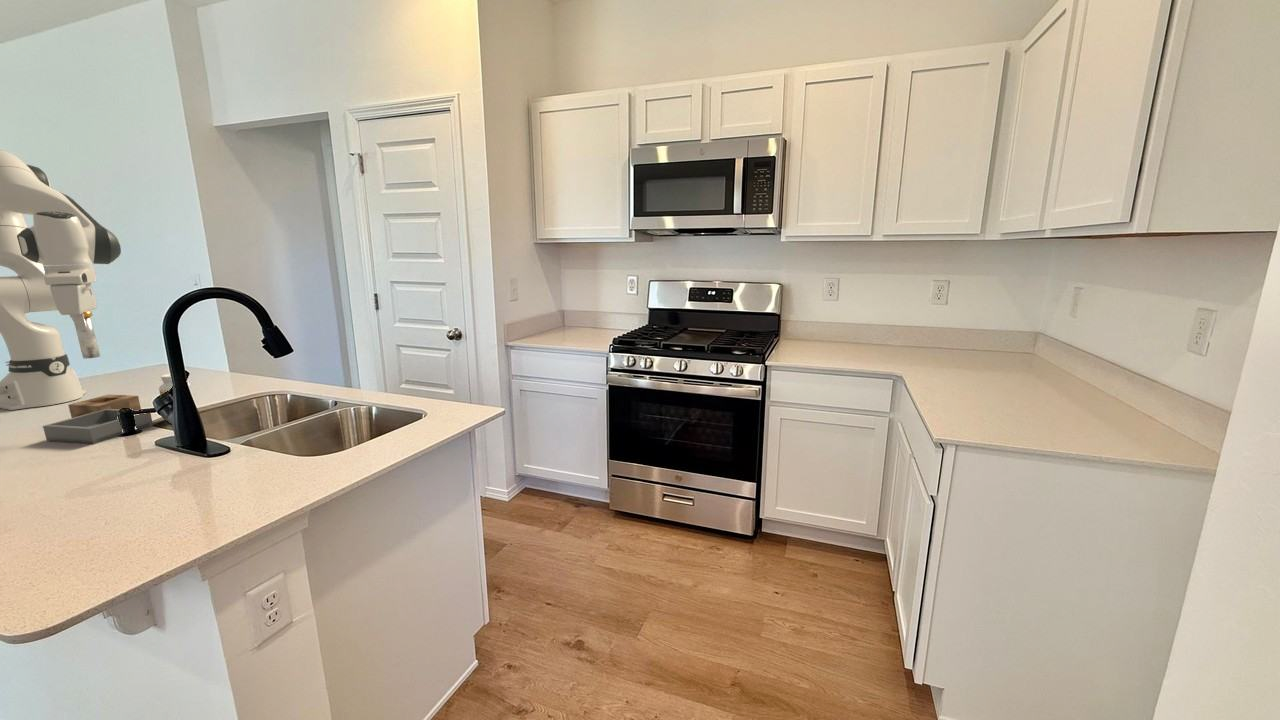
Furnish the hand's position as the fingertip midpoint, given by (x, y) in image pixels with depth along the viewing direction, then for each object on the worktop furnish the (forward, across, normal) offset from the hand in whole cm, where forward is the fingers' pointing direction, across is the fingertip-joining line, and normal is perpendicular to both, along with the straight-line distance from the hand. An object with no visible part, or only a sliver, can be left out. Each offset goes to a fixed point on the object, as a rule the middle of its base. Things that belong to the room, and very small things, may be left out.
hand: (84, 329), depth 137 cm
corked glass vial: (+8, 0, 0) cm, 8 cm away
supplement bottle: (+27, +6, +16) cm, 32 cm away
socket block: (+26, -9, -1) cm, 28 cm away
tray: (+27, +8, 0) cm, 28 cm away
